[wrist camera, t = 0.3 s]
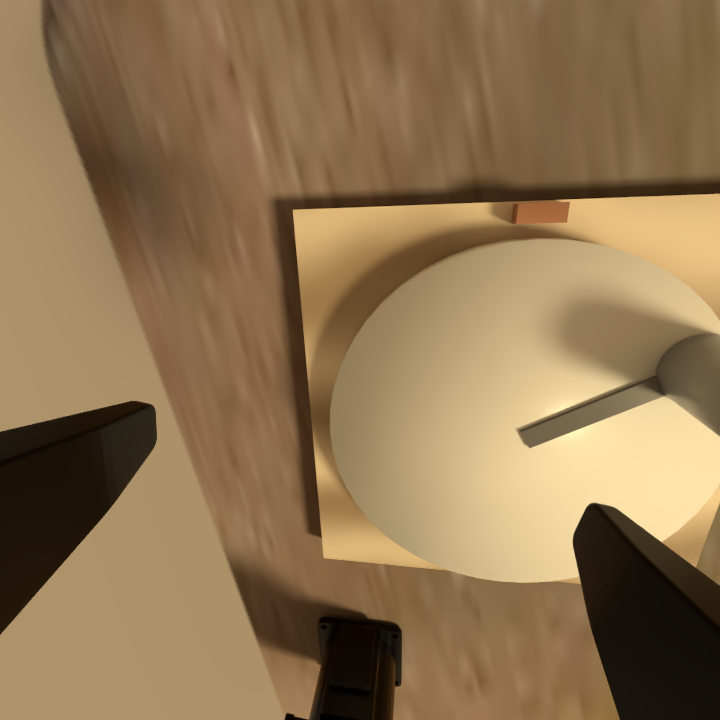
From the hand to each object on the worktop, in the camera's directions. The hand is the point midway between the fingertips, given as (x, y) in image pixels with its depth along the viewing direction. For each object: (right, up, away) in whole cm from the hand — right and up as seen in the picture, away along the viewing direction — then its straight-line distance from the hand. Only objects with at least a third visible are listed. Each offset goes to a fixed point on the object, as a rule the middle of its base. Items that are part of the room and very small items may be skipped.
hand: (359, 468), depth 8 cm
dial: (+8, -1, +13) cm, 15 cm away
